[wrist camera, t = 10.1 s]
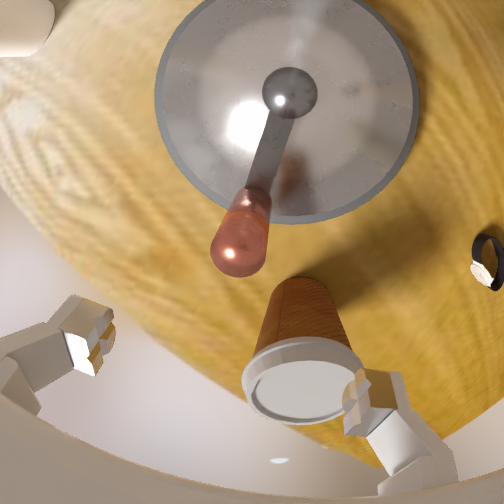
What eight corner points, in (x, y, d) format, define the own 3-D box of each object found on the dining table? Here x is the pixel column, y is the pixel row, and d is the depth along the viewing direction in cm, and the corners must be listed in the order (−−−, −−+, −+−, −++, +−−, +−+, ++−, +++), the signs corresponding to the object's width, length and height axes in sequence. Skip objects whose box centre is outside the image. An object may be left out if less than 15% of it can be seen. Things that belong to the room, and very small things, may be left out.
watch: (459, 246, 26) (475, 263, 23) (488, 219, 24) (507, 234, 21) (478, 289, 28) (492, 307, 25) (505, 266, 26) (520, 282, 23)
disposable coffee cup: (342, 333, 32) (357, 423, 22) (258, 337, 34) (247, 427, 23) (348, 259, 28) (377, 349, 17) (249, 264, 29) (229, 356, 19)
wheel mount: (365, -30, 15) (371, -39, 13) (428, 187, 24) (438, 194, 22) (135, 34, 20) (124, 30, 18) (211, 240, 28) (205, 251, 26)
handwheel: (208, -32, 15) (167, -89, 6) (432, 43, 16) (503, 25, 7) (145, 181, 24) (80, 225, 15) (352, 247, 25) (381, 320, 16)
